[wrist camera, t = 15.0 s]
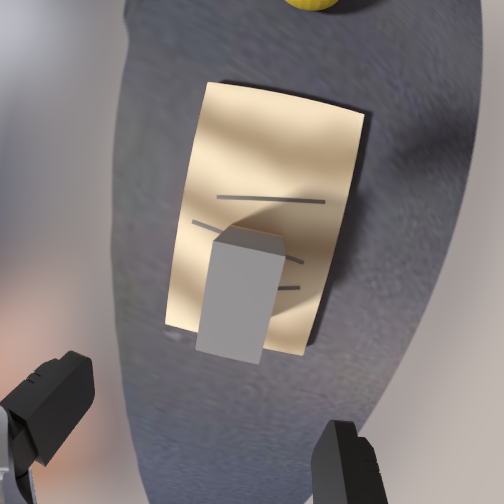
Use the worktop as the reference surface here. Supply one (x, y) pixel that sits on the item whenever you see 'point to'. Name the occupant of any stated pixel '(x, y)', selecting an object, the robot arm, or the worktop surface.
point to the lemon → (312, 4)
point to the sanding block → (240, 293)
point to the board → (265, 198)
